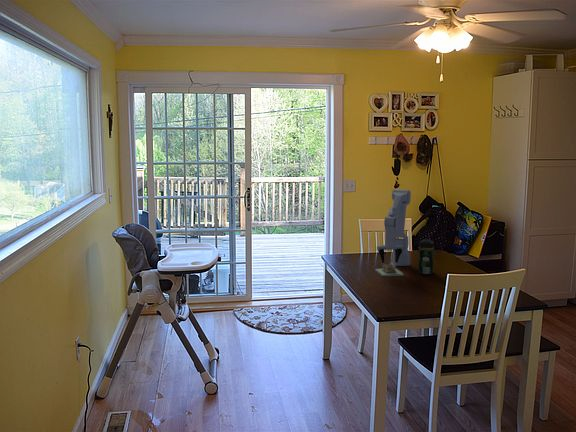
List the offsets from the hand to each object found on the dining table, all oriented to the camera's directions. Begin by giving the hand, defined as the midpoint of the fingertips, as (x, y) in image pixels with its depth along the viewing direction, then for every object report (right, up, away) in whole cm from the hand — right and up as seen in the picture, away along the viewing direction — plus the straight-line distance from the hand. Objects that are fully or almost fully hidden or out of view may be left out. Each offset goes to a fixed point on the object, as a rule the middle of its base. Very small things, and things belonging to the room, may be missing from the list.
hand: (389, 262), depth 281 cm
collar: (0, -5, +1) cm, 5 cm away
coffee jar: (+20, -6, +2) cm, 21 cm away
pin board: (0, -6, +1) cm, 6 cm away
